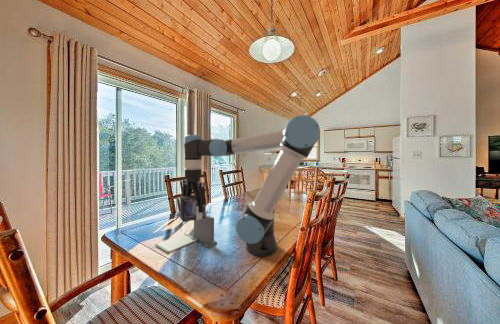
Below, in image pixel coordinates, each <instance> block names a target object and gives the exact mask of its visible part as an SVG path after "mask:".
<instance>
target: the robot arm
mask: <svg viewBox="0 0 500 324" xmlns="http://www.w3.org/2000/svg"><path fill="white" fill-rule="evenodd" d="M320 135H321V127H320V125H319V123H318V121H317V120H316V119H315V118H314V117H311V116H309V115H307V114H306V115H304V114H303V115H297V116H294V117H293V118H291V119H290V120H288V122H287V124H286V126H285V128H284V129H283V130H278V131H272V132H267V133H261V134H255V135H249V136H244V137H238V138H233V139H228V140H227V139H226V140H224V139H220V138H214V139H213V138H211V139H208V138H207V139H202V136H201V135H199V134H187V135H185V136H184V141H183V142H184V144H183V147H184V168H185V169H184V178H185V179H182V191H181V192H182V193H181V196H188V195H193V193H192V192H194V195H195V197H196V200H197V204H198V205H196V220H200V219H202V212H203V205H204V204H207V198H206V197H207V196H206V191H205V190H206V189H205V186H206V183H205V182H204V181H203V182H202V181H201V178H202V176H203V175H202V171H203V170H202V169H201V168H202V158H203V157H216V158H217V157H224V156H225V157H230V156H233V155H238V154H239V155H240V154H245V153H253V152H260V151H266V150H267V151H268V150H273V149H274V150H275V149H280V151H279V152H278V155H277V157H276V159H275V160H274V162H273V164H272V166H271V168H270V170H269V172H268V174H267V175H266V178H265V179H264V181H263V184H262V185H261V187H260V189H259V191H258V193H257V195H256V197H255V199H254V200H251V201H250V202H249V203H248V204H247V206H246V208H245V210H244V211H243V213H242V215H241V216H239V218H238V219H237V220H236V224H235V232H236V234H237V236H238V237H239V238H240V240H241V241H243V242H244V243H245V250H246V251H247V252H248V253H250V254H251V255H254V256H257V257H269V256H272V255H274V254H275V253H276V252H277V251H278V243H277V240H276V236H275V210H276V209H275V208H276V207H277V204H278V203H279V201H280V200H281V198H282V196H283V193H285V190H286V188H287V187H288V185H289V183H290V181H291V179H292V177H293V175H294V174H295V172H296V170H297V168H298V167H299V165H300V163H301V161H303V160H305V159H308V157H309V155H310V154H311V152H312V150H313V148H314V146H315V145H316V143H317V142H318V141H319V138H320Z"/></svg>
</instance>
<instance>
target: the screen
mask: <svg viewBox="0 0 500 324" xmlns="http://www.w3.org/2000/svg"><path fill="white" fill-rule="evenodd" d="M194 237H195V238H197V241H199V242H201V243H203V244H204V246H203V247H204V248H206V249H209V248H210V247H211V248H212V247H214V246H216V244H217V243H218V241H216V240H215V218H214V217H213V216H210V215H207V214H206V218H203V219H200V220H193V237H192V238H191V239H192V240H195V238H194Z"/></svg>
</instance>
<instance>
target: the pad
mask: <svg viewBox="0 0 500 324" xmlns="http://www.w3.org/2000/svg"><path fill="white" fill-rule="evenodd" d="M192 237H194V235H193V236H192V235H190V234H188V233H186V232H184V233H183V234H179V235H178V236H175V237H172V238H169V239H167V240H165V241H162V242H159V243H155V244H154V246H155V247H156V248H157V249H159V250H161V251H163V252H165V253H166V254H169V253H172V252H174V251H176V250H179V249H181V248H183V246H184V247H186V246H188V245H191V244H193V243H195V242H197V241H198V240H197V238H195V237H194V238H195V240H192V239H191V238H192Z"/></svg>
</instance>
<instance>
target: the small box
mask: <svg viewBox="0 0 500 324" xmlns="http://www.w3.org/2000/svg"><path fill="white" fill-rule="evenodd" d="M179 202H180V203H179V204H180V205H179V215H180V216H179V219H180V220H181V222H189V221H190V222H191V221H194V220H196V205H198V204H197V200H196V197H195V194H191V195H188V196H182V195H181V196H179ZM206 204H207V203H206ZM206 204H204V205H203V212H202V219H203V218H206V215H207V214H206V211H207V210H206V208H207V207H206Z"/></svg>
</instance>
